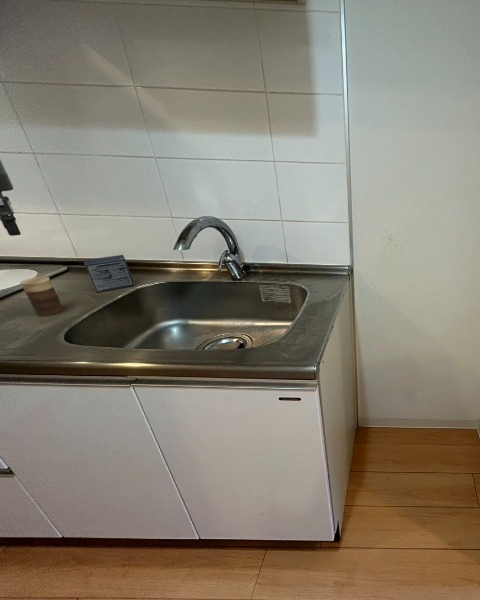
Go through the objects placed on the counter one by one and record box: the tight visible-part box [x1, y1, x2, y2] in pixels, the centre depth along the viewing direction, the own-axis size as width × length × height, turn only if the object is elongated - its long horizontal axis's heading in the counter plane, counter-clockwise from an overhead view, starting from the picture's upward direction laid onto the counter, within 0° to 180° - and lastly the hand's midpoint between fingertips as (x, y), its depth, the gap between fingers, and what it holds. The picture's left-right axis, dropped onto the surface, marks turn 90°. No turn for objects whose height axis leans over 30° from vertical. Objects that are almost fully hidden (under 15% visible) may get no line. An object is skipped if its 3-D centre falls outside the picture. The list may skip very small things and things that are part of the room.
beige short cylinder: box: [20, 276, 54, 293], centre depth 89 cm, size 6×6×3 cm
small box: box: [83, 254, 136, 293], centre depth 108 cm, size 11×6×10 cm, turn 134°
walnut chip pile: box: [24, 286, 64, 317], centre depth 91 cm, size 6×6×8 cm
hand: (13, 231), depth 88 cm, fingers open, 8 cm apart
